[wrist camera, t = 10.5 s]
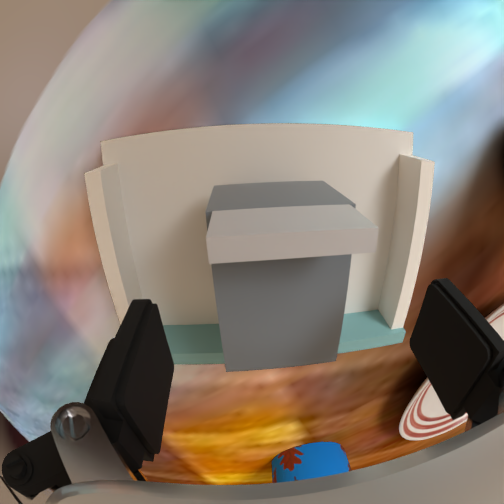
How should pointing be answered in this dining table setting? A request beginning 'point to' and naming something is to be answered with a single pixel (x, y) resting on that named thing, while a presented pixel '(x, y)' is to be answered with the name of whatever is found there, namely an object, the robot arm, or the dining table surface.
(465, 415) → the dinner plate
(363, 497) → the robot arm
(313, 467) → the thermos
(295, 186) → the lidded gray box
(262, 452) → the dining table surface
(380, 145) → the loading dock
